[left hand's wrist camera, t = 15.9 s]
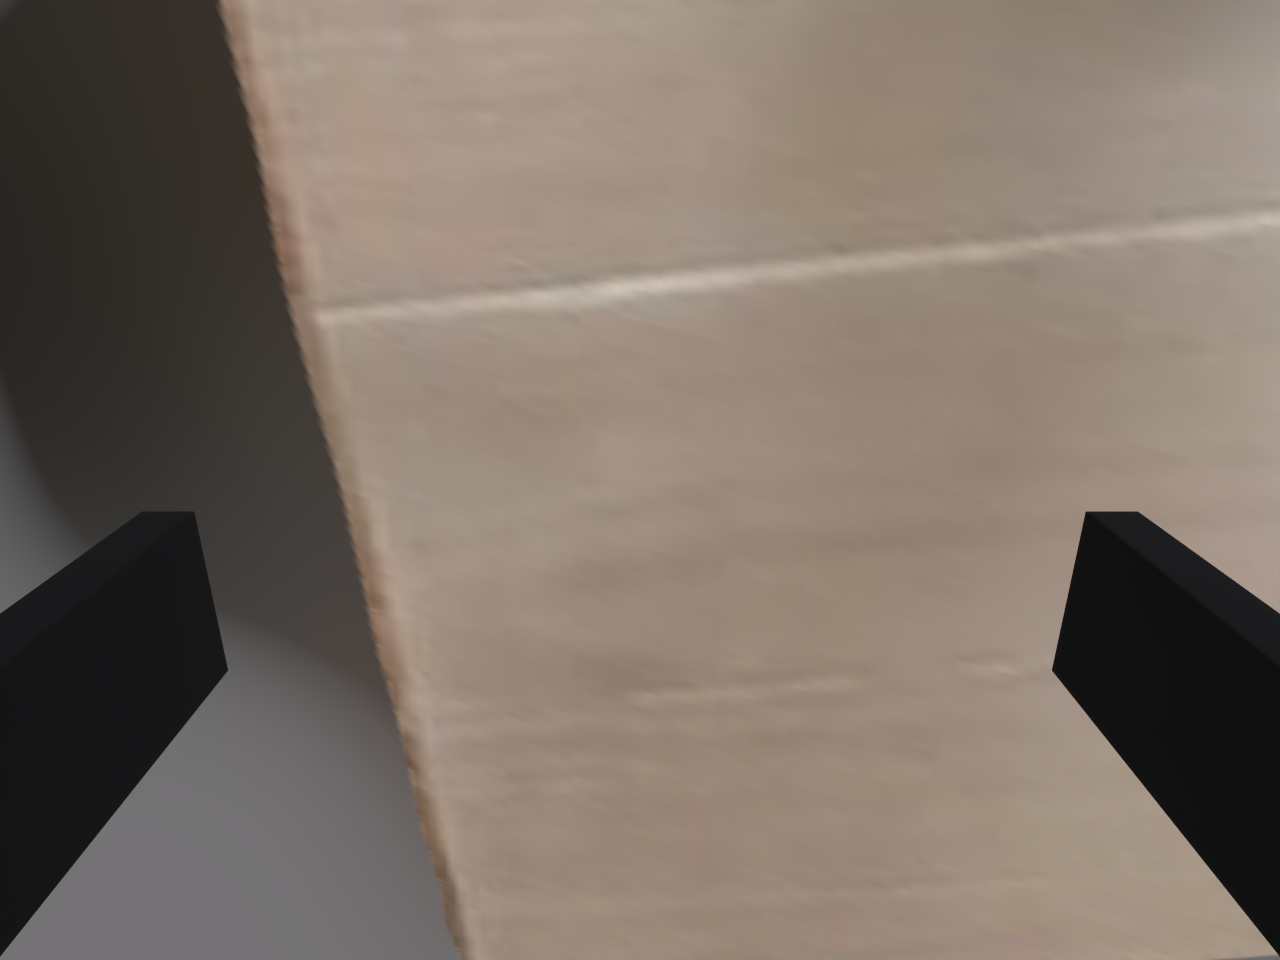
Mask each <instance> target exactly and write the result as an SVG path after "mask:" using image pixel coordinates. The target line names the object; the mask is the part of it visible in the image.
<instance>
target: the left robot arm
mask: <svg viewBox="0 0 1280 960" xmlns="http://www.w3.org/2000/svg"><path fill="white" fill-rule="evenodd" d="M227 671H228V668H227V663H226V658H225V654H224V649H223V645H222V640H221V635H220V630H219V626H218V621H217V616H216V612H215V607H214V603H213V598H212V593H211V588H210V584H209V579H208V574H207V570H206V565H205V560H204V556H203V551H202V546H201V542H200V537H199V532H198V527H197V523H196V518H195V513H194V512H141V513H140V514H138V515H137V516H135V517H134V518H133V519H131V520H130V521H128V522H127V523H126V524H124V525H123V526H121V527H120V528H119V529H117V530H116V531H115V532H113V533H112V534H110V535H109V536H108V537H106V538H105V539H104V540H102V541H101V542H99V543H98V544H97V545H95V546H94V547H92V548H91V549H90V550H88V551H87V552H85V553H84V554H83V555H81V556H80V557H78V558H77V559H76V560H74V561H73V562H71V563H70V564H69V565H67V566H66V567H65V568H63V569H62V570H60V571H59V572H58V573H56V574H55V575H53V576H52V577H51V578H49V579H48V580H46V581H45V582H44V583H42V584H41V585H40V586H38V587H37V588H35V589H34V590H33V591H31V592H30V593H28V594H27V595H26V596H24V597H23V598H21V599H20V600H19V601H17V602H16V603H15V604H13V605H12V606H10V607H9V608H8V609H6V610H5V611H3V612H2V613H1V614H0V956H1V955H2V953H3V952H4V951H5V950H6V948H7V947H8V946H9V945H10V943H11V942H12V941H13V940H14V938H15V937H16V936H17V935H18V933H19V932H20V931H21V930H22V928H23V927H24V926H25V925H26V923H27V922H28V921H29V920H30V918H31V917H32V916H33V914H34V913H35V912H36V911H37V910H38V908H39V907H40V906H41V904H42V903H43V902H44V901H45V899H46V898H47V897H48V896H49V894H50V893H51V892H52V891H53V889H54V888H55V887H56V886H57V884H58V883H59V882H60V881H61V879H62V878H63V877H64V876H65V874H66V873H67V872H68V871H69V869H70V868H71V867H72V866H73V864H74V863H75V862H76V861H77V859H78V858H79V857H80V855H81V854H82V853H83V852H84V850H85V849H86V848H87V847H88V846H89V844H90V843H91V842H92V840H93V839H94V838H95V837H96V835H97V834H98V833H99V832H100V830H101V829H102V828H103V827H104V825H105V824H106V823H107V822H108V820H109V819H110V818H111V817H112V815H113V814H114V813H115V812H116V810H117V809H118V808H119V807H120V805H121V804H122V803H123V801H124V800H125V799H126V798H127V797H128V795H129V794H130V793H131V791H132V790H133V789H134V788H135V786H136V785H137V784H138V783H139V781H140V780H141V779H142V778H143V776H144V775H145V774H146V773H147V771H148V770H149V769H150V768H151V766H152V765H153V764H154V763H155V761H156V760H157V759H158V758H159V756H160V755H161V754H162V753H163V751H164V750H165V749H166V748H167V746H168V745H169V744H170V743H171V741H172V740H173V739H174V738H175V736H176V735H177V734H178V732H179V731H180V730H181V729H182V727H183V726H184V725H185V724H186V722H187V721H188V720H189V719H190V717H191V716H192V715H193V714H194V712H195V711H196V710H197V709H198V707H199V706H200V705H201V704H202V702H203V701H204V700H205V699H206V697H207V696H208V695H209V693H210V692H211V691H212V690H213V689H214V687H215V686H216V685H217V683H218V682H219V681H220V680H221V679H222V677H223V676H224V675H225V674H226V672H227ZM1052 671H1053V672H1054V674H1055V675H1056V676H1057V677H1058V679H1059V680H1060V681H1061V682H1062V684H1063V685H1064V686H1065V687H1066V689H1067V690H1068V691H1069V692H1070V694H1071V695H1072V696H1073V697H1074V699H1075V700H1076V701H1077V702H1078V704H1079V705H1080V706H1081V707H1082V709H1083V710H1084V711H1085V712H1086V714H1087V715H1088V716H1089V717H1090V719H1091V720H1092V721H1093V722H1094V724H1095V725H1096V726H1097V727H1098V729H1099V730H1100V731H1101V733H1102V734H1103V735H1104V736H1105V738H1106V739H1107V740H1108V741H1109V743H1110V744H1111V745H1112V746H1113V748H1114V749H1115V750H1116V751H1117V753H1118V754H1119V755H1120V756H1121V758H1122V759H1123V760H1124V761H1125V763H1126V764H1127V765H1128V766H1129V768H1130V769H1131V770H1132V771H1133V773H1134V774H1135V775H1136V776H1137V778H1138V779H1139V780H1140V781H1141V783H1142V784H1143V785H1144V787H1145V788H1146V789H1147V790H1148V792H1149V793H1150V794H1151V795H1152V797H1153V798H1154V799H1155V800H1156V802H1157V803H1158V804H1159V805H1160V807H1161V808H1162V809H1163V810H1164V812H1165V813H1166V814H1167V815H1168V817H1169V818H1170V819H1171V820H1172V822H1173V823H1174V824H1175V825H1176V827H1177V828H1178V829H1179V830H1180V832H1181V833H1182V834H1183V835H1184V837H1185V838H1186V839H1187V840H1188V842H1189V843H1190V844H1191V846H1192V847H1193V848H1194V849H1195V851H1196V852H1197V853H1198V854H1199V856H1200V857H1201V858H1202V859H1203V861H1204V862H1205V863H1206V864H1207V866H1208V867H1209V868H1210V869H1211V871H1212V872H1213V873H1214V874H1215V876H1216V877H1217V878H1218V879H1219V881H1220V882H1221V883H1222V884H1223V886H1224V887H1225V888H1226V889H1227V891H1228V892H1229V893H1230V894H1231V896H1232V897H1233V898H1234V899H1235V901H1236V902H1237V903H1238V905H1239V906H1240V907H1241V908H1242V910H1243V911H1244V912H1245V913H1246V915H1247V916H1248V917H1249V918H1250V920H1251V921H1252V922H1253V923H1254V925H1255V926H1256V927H1257V928H1258V930H1259V931H1260V932H1261V933H1262V935H1263V936H1264V937H1265V938H1266V940H1267V941H1268V942H1269V943H1270V945H1271V946H1272V947H1273V948H1274V950H1275V951H1276V952H1277V953H1278V955H1279V956H1280V614H1279V613H1278V612H1277V611H1275V610H1274V609H1272V608H1271V607H1270V606H1268V605H1267V604H1265V603H1264V602H1263V601H1261V600H1260V599H1259V598H1257V597H1256V596H1254V595H1253V594H1252V593H1250V592H1249V591H1247V590H1246V589H1245V588H1243V587H1242V586H1240V585H1239V584H1238V583H1236V582H1235V581H1234V580H1232V579H1231V578H1229V577H1228V576H1227V575H1225V574H1224V573H1222V572H1221V571H1220V570H1218V569H1217V568H1215V567H1214V566H1213V565H1211V564H1210V563H1209V562H1207V561H1206V560H1204V559H1203V558H1202V557H1200V556H1199V555H1197V554H1196V553H1195V552H1193V551H1192V550H1190V549H1189V548H1188V547H1186V546H1185V545H1184V544H1182V543H1181V542H1179V541H1178V540H1177V539H1175V538H1174V537H1172V536H1171V535H1170V534H1168V533H1167V532H1165V531H1164V530H1163V529H1161V528H1160V527H1159V526H1157V525H1156V524H1154V523H1153V522H1152V521H1150V520H1149V519H1147V518H1146V517H1145V516H1143V515H1142V514H1140V513H1139V512H1086V513H1085V518H1084V523H1083V527H1082V532H1081V537H1080V542H1079V546H1078V551H1077V556H1076V560H1075V565H1074V570H1073V574H1072V579H1071V584H1070V588H1069V593H1068V598H1067V602H1066V607H1065V612H1064V616H1063V621H1062V626H1061V630H1060V635H1059V640H1058V644H1057V649H1056V654H1055V658H1054V663H1053V668H1052Z"/></svg>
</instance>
